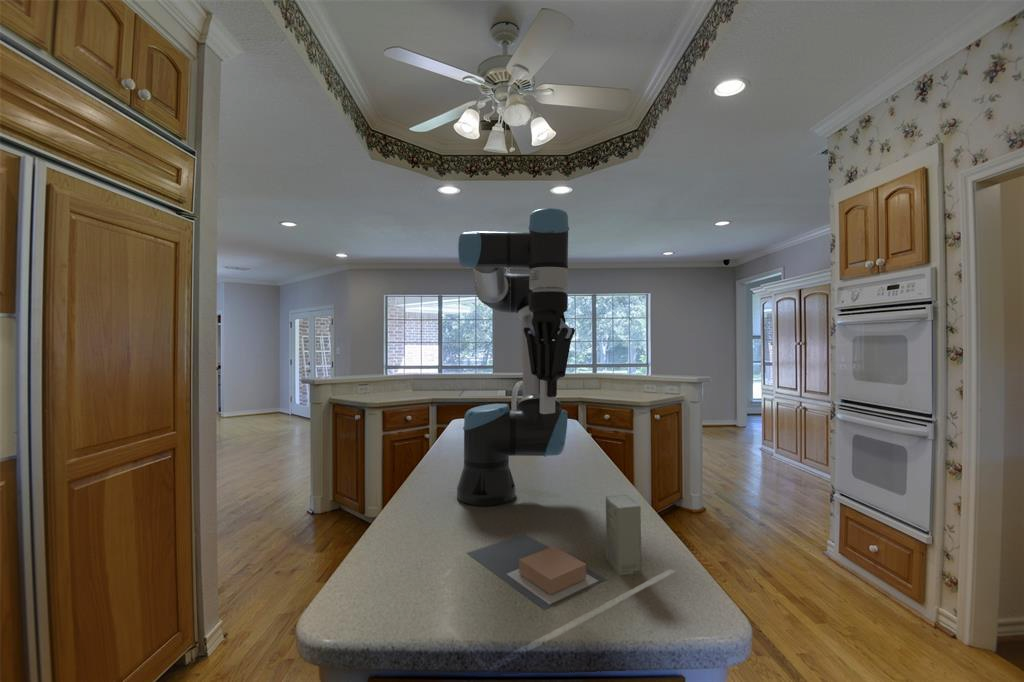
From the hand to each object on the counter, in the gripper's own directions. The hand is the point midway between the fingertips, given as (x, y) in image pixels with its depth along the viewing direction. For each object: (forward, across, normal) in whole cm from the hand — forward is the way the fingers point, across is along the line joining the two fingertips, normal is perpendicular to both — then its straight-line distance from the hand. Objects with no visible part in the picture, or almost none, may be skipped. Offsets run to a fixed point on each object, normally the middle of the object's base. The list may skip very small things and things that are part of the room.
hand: (547, 412), depth 88 cm
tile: (+24, +6, -7) cm, 26 cm away
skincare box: (+27, +14, +6) cm, 31 cm away
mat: (+26, +5, -7) cm, 28 cm away
